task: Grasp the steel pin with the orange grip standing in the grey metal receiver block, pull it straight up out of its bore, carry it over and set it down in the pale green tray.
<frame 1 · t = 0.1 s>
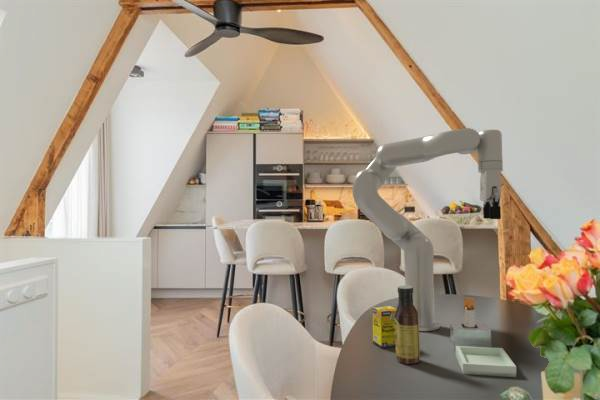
hand: (491, 218, 144), 37 cm above the table, tool pointing down, fingers open, 9 cm apart
tray: (483, 365, 111), on the table
pin: (469, 322, 126), in the receiver block
supplement box: (386, 345, 129), on the table
receiver block: (470, 346, 126), on the table
sauce bottle: (407, 361, 115), on the table
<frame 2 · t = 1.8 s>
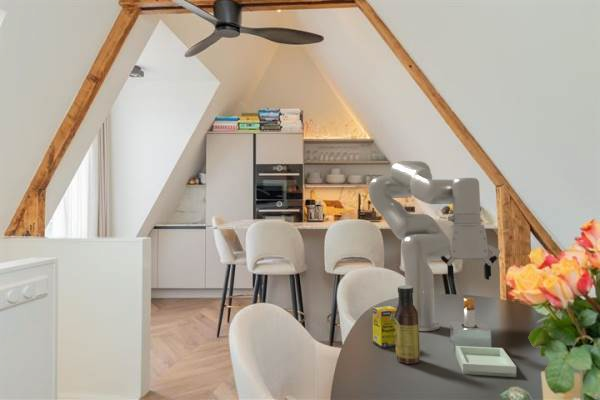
hand: (469, 278, 126), 20 cm above the table, tool pointing down, fingers open, 9 cm apart
nothing on the table moved.
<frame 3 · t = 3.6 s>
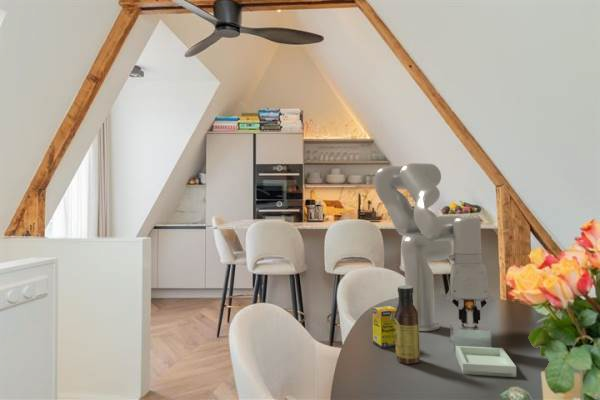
hand: (469, 321, 126), 7 cm above the table, tool pointing down, fingers closed on pin, 3 cm apart
pin: (469, 322, 126), in the receiver block, touching gripper
everything else where it was.
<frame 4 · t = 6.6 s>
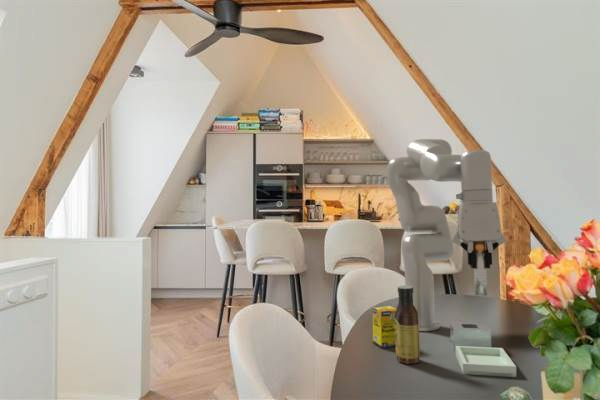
hand: (480, 267, 113), 25 cm above the table, tool pointing down, fingers closed on pin, 3 cm apart
pin: (480, 267, 113), point 25 cm above the table, touching gripper
everything else where it was.
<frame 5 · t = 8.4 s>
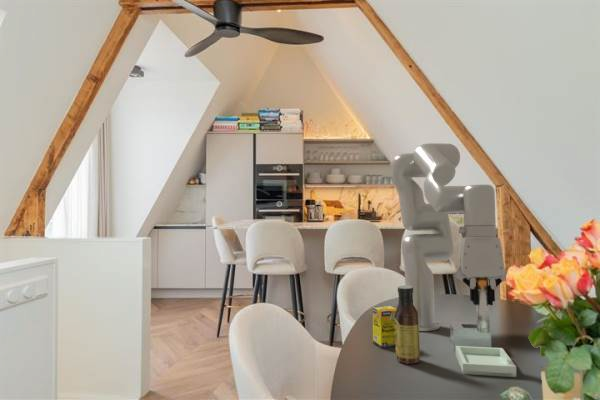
hand: (482, 303, 111), 16 cm above the table, tool pointing down, fingers closed on pin, 3 cm apart
pin: (482, 304, 111), point 16 cm above the table, touching gripper
everything else where it was.
when the fingers open (9 cm above the table, at t = 9.9 s): pin stays where it is, resting on tray.
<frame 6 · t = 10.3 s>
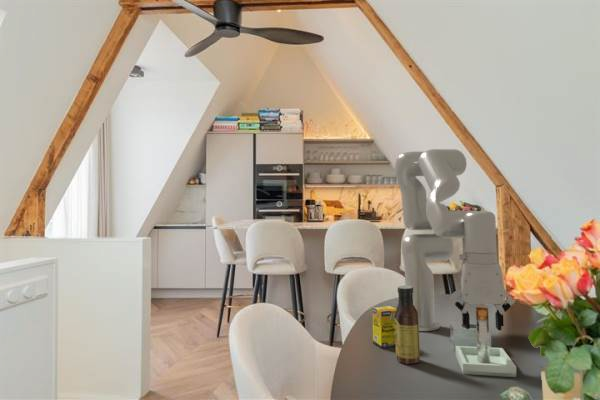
hand: (482, 327, 111), 10 cm above the table, tool pointing down, fingers open, 7 cm apart
pin: (482, 334, 111), in the tray, point 8 cm above the table
everything else where it was.
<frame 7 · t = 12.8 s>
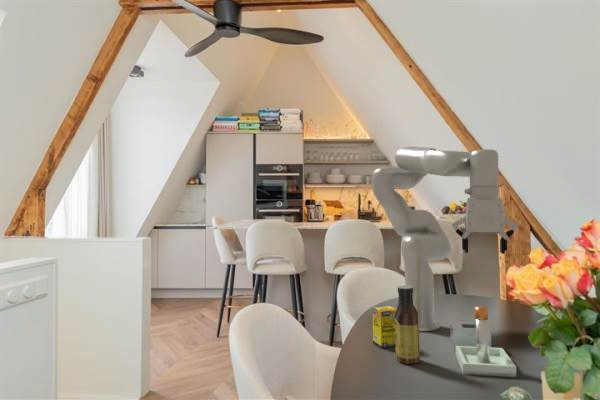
hand: (484, 252, 124), 28 cm above the table, tool pointing down, fingers open, 9 cm apart
nothing on the table moved.
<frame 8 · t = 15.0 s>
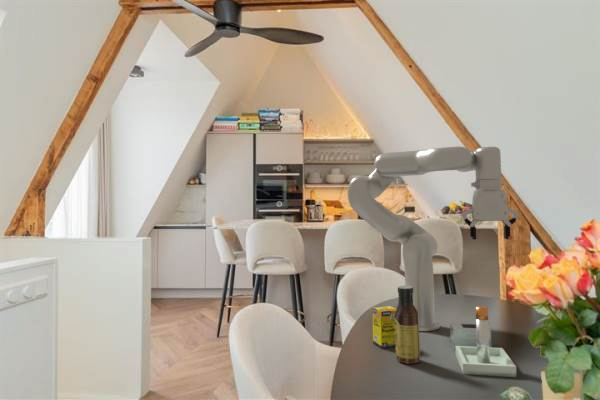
hand: (490, 239, 138), 30 cm above the table, tool pointing down, fingers open, 9 cm apart
nothing on the table moved.
at the end: pin inside the target area on the tray (0.0 cm from its centre), point 7.8 cm above the tray's base; pin touching tray; the gripper is holding nothing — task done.
